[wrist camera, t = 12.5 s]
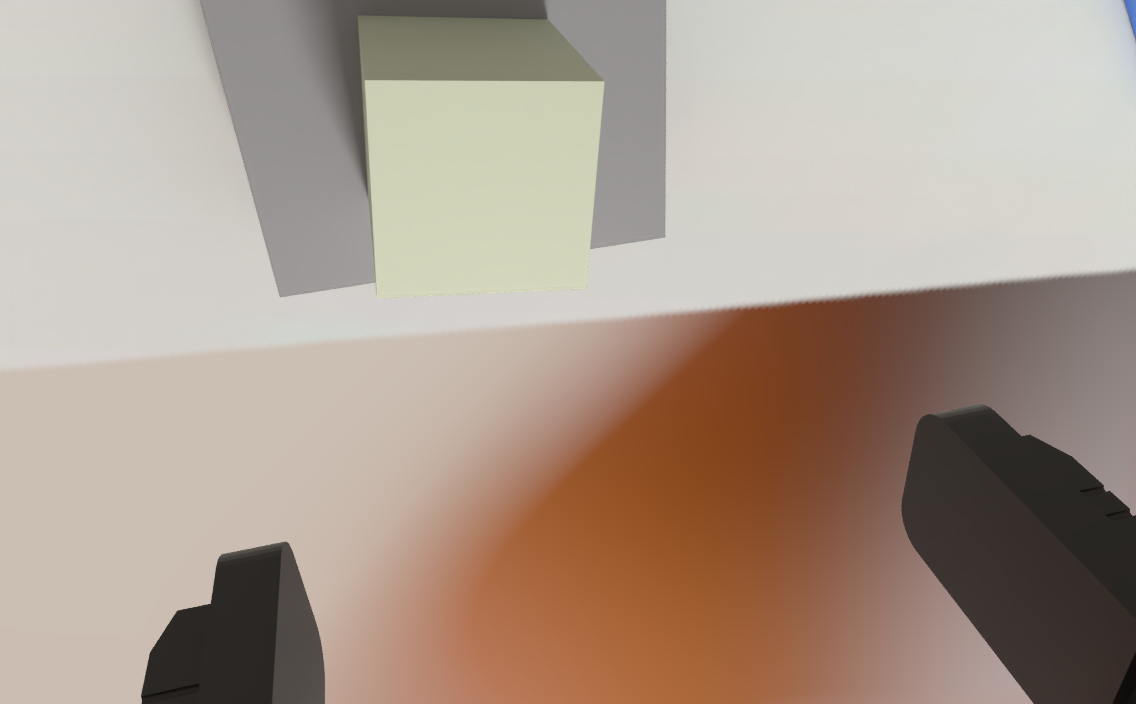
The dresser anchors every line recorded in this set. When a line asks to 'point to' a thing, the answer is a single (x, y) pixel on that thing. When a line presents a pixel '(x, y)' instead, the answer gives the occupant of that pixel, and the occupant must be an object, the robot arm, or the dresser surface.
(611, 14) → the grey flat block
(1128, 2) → the medicine box
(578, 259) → the block
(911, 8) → the dresser surface
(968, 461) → the robot arm
